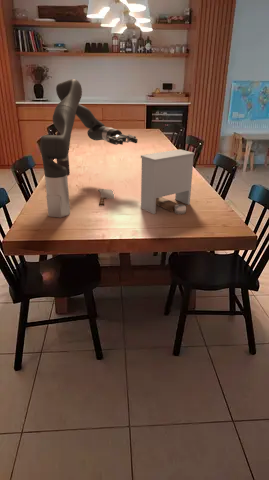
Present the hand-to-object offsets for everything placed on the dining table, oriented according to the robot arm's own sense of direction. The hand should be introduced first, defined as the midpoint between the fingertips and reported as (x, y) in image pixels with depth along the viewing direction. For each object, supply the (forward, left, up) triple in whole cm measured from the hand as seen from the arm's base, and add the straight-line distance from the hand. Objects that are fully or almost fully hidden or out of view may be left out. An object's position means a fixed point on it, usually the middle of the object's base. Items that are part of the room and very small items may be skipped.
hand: (129, 141), depth 176 cm
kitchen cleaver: (-12, +9, -26) cm, 30 cm away
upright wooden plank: (-15, -20, -25) cm, 36 cm away
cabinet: (-17, -22, -25) cm, 37 cm away
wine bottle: (+22, +47, -25) cm, 57 cm away
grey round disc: (-23, -29, -25) cm, 45 cm away
